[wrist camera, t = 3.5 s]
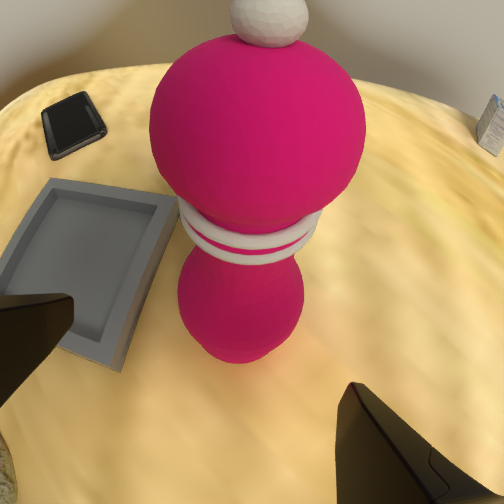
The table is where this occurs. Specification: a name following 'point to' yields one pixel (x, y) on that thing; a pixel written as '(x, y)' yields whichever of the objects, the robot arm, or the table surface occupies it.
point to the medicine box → (492, 126)
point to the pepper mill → (253, 170)
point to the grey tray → (91, 259)
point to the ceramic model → (7, 477)
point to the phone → (71, 125)
